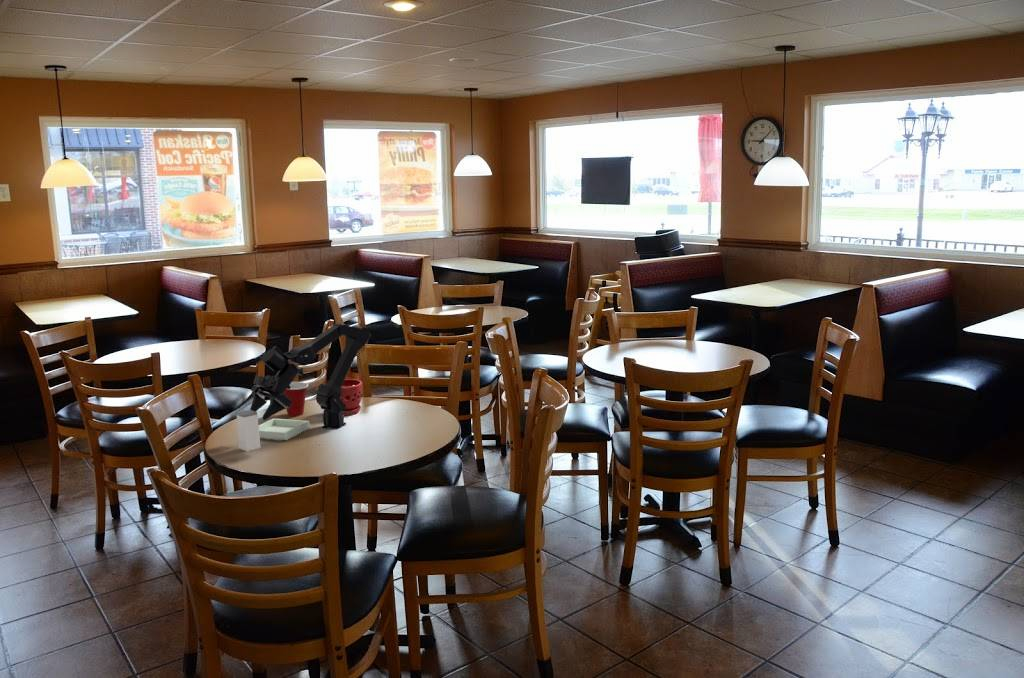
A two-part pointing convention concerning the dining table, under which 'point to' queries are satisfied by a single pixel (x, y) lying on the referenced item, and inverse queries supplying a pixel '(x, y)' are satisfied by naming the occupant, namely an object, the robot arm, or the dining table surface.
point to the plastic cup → (296, 398)
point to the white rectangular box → (248, 430)
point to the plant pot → (351, 396)
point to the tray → (282, 428)
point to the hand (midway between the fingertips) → (256, 416)
